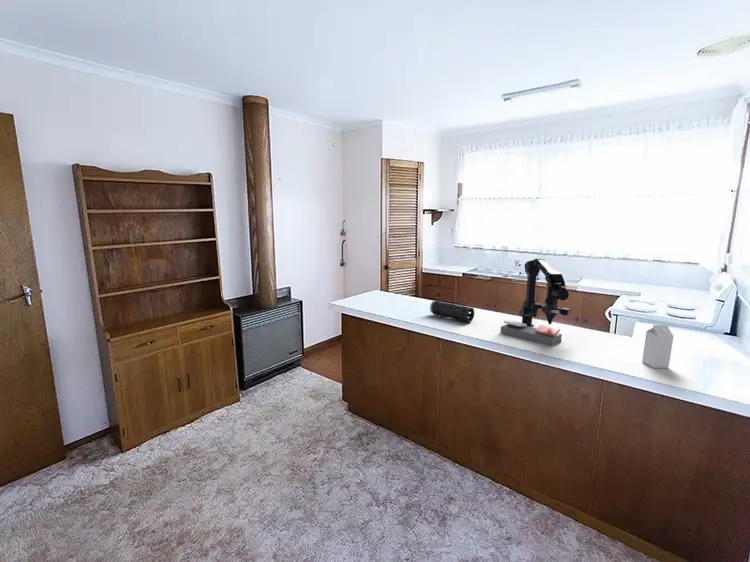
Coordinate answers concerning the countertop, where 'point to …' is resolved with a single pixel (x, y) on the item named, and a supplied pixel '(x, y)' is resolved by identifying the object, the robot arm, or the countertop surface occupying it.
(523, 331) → the switch box
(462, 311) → the muzzle brake
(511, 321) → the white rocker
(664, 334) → the milk carton
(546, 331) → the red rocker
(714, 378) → the countertop surface
